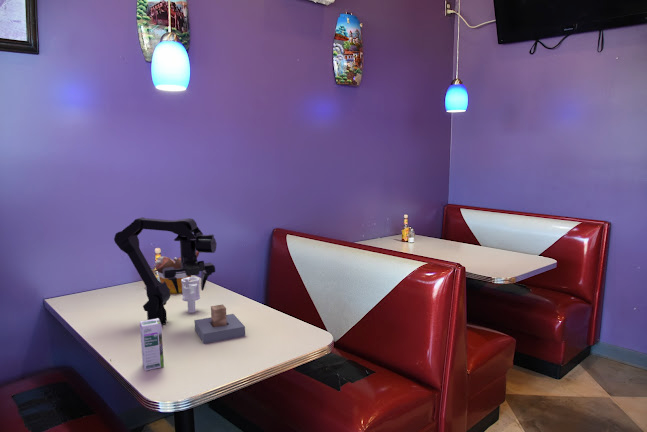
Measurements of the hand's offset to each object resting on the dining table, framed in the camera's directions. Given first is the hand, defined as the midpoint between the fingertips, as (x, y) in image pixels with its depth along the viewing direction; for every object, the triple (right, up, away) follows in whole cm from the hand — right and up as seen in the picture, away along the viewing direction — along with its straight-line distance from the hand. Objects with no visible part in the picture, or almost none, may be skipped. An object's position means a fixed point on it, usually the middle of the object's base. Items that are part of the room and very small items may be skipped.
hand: (190, 292), depth 184 cm
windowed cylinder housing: (-4, -11, +17) cm, 20 cm away
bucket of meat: (-19, -7, +46) cm, 50 cm away
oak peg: (+12, -13, -6) cm, 19 cm away
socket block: (+13, -14, -6) cm, 20 cm away
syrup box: (-3, -18, -32) cm, 37 cm away
